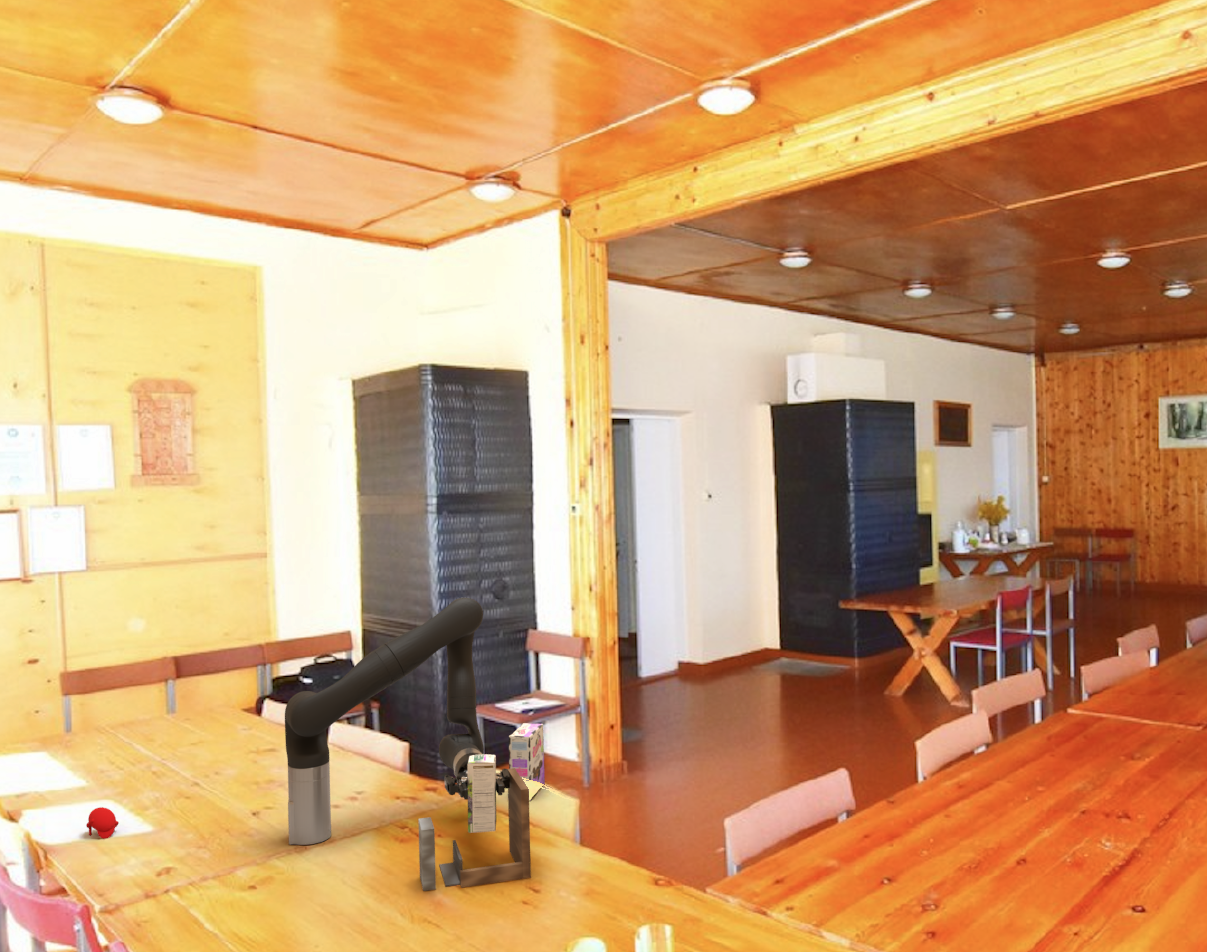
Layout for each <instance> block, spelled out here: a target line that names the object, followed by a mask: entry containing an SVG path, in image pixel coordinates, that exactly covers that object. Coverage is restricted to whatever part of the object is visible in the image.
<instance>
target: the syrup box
mask: <svg viewBox="0 0 1207 952" xmlns="http://www.w3.org/2000/svg"><path fill="white" fill-rule="evenodd" d="M496 763H497V757H496V754H487V753H486V754H481V755H472V756H469V761H468V767H467V769H468V799H467V833H469V834H471V833H474V834H477V833H489V832H496V828H497V791H496V773H497V772H496V771H497V770H496V769H497V764H496Z"/></svg>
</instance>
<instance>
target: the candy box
mask: <svg viewBox="0 0 1207 952" xmlns="http://www.w3.org/2000/svg"><path fill="white" fill-rule="evenodd" d="M544 744H545V743H544V724H543V723H526V722H524V723H522V724H521V725H520V726H519V727H518V728H516V730H515V731H513V733H511V734H510V735H508V763H509V764H508V765H509V767H508V769H513V768H515V769H516V771H517V772H518V774H519V775H520V777H521V778H522V777H523V778H526V779H529V780H533V781H537V782H540V783H542V784H544V785H545V782H546V781H545V749H544V747H545V745H544ZM522 780H524V779H522ZM529 780H526V781H529ZM524 783H525V782H524Z"/></svg>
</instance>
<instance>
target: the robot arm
mask: <svg viewBox="0 0 1207 952" xmlns="http://www.w3.org/2000/svg"><path fill="white" fill-rule="evenodd" d="M483 619H484V610H483V607H482V605H481V604H480V603H479V602H478V601H477V600H475V599H473V598H471V597H460V598H456V599H454V600H453V601H452V602H450V603H449V604H448V605H447V606H446V607H445V608H444V609H442V610H440V611H439V612H438V613H437V614H436V615H434V616H433V617H431V618H430V619H429V620H427V621H426V622H424V623H422V624H420V625H419V626H417V627H414V628H413V629H412V628H411V629H410V630H408V631H406V632H404V633H402V634H400V635H398V636H396V637H395V638H392V639H391V640H389V641H387V642H386V643H384V644H382V645H380V646H378V647H377V648H376V649H374V650H372V651H371V652H369V653H368V654H367V655H365V656H364V657H363V658H362V659H361V660H359V661H358V663H356V664H355V665H354V666H353V667H352V668H351V670H349V671H348V672H347V673H346V674H345V675H344V676H343V677H342V678H341V679H339V680H338V681H336V682H334V683H333V684H331V685H330V686H328V687H325V688H324V689H322V690H320V691H318V692H314V691H311V690H304V691H303V690H302V691H300V692H297V693H296V694H294V695H292V697H290V699H289V700H288V702H287V703H286V706H285V708H284V709H285V710H284V736H285V751H286V757H287V783H288V784H287V786H288V787H287V790H288V791H287V792H288V798H287V799H288V800H287V801H288V802H287V817H288V820H287V821H288V822H287V823H288V824H287V825H288V845H297V846H298V845H301V846H304V845H305V846H306V845H307V846H308V845H313V844H317V843H318V844H319V843H322V842H325V841H327V840H328V839H330V838H331V836H332V819H331V818H332V812H331V811H332V808H331V775H330V774H331V773H330V772H331V771H330V769H331V768H330V749H329V744H328V739H327V729H328V728H330V727H331V726H332V725H333V724H334V723H335V722H337V721H338V720H339V719H341V718H342V717H343V716H345V715H346V714H347V713H348V712H349V711H351V710H352V709H354V708H355V707H357V706H358V705H360V704H361V703H363V702H365V701H367V700H369V699H370V698H372V697H374V696H375V695H377V694H378V693H380V692H382V691H383V690H385V689H387V688H389V687H390V686H393V685H394V684H395V683H396V682H399V681H400V680H401V679H403V678H405V677H406V676H408V675H410V674H411V673H412V672H413V671H414V670H416V669H418V667H420V666H421V665H422V664H424V663H425V662H426V661H427V660H428V659H430V657H432V656H433V655H435V653H436V652H438V651H439V650H441V649H443V648H444V647H445V646H446V657H447V658H446V659H447V686H446V687H447V688H446V689H447V690H446V693H447V694H446V718H447V721H448V723H451V724H454V725H460V726H463V727H465V728H466V730H467V731H468V732H467V733H451V734H450V733H449V734H446V735H445V736H444V737H442V739H441V740H440V742H439V746H438V755H439V758H440V761H441V762H442V763H443V764H444V765H445V766H446V767H448V768H449V769H451V770H453V774H454V776H455V777H454V776H451V775H449V774H446V775H444V788H445V790H446V792H447V793H448V794H449V796H454V795H456V794H458V795H459V797H460V798H462V799H463V800H468V769H467V767H468V761H469V756H472V755H481V754H484V752H485V746H484V741H483V739H482V735H481V732H480V729H479V724H478V717H477V686H476V683H477V682H476V678H475V677H476V676H475V672H474V664H473V663H474V662H473V644H474V637H475V632H476V631H477V630H478V629H479V628H480V627H481V625H482V621H483ZM508 769H509V768H502V769H501V770H500V771H499V772H496V794H497V795H498V796H502V795H503V794H504V793H505V789H507V790H508V788H510V776H509V773H508Z"/></svg>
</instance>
